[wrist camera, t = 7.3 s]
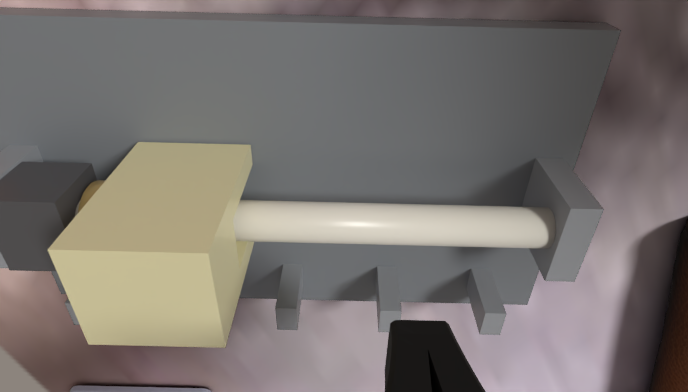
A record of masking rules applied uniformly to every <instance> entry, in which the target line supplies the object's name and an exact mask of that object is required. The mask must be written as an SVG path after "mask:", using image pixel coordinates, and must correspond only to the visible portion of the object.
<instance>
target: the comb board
mask: <svg viewBox="0 0 688 392" xmlns="http://www.w3.org/2000/svg"><path fill="white" fill-rule="evenodd" d="M620 32H621V30H619V29H617V28H615V27H613V26H611V25H609V24H607V23H593V22H554V21H515V20H475V19H436V18H397V17H357V16H318V15H279V14H239V13H200V12H161V11H121V10H82V9H43V8H3V7H0V268H9V270H23V271H51V272H52V274H53V276H54V278H55V281H56V283H57V285H58V287H59V290H60V292H61V294H66V291H65V289H64V287H63V285H62V282H61V280H60V278H59V275H58V273H57V271H56V268H55V266H54V264H53V261H52V259H51V257H50V254H49V252H48V248H49V247H50V246H51V245H52V244H53V242H54V241H55V240H56V239H57V238H58V237H59V235H60V234H61V233H62V232H63V231H64V229H65V228H66V227H67V226H68V225H69V223H70V222H71V221H72V220H73V219H74V217H75V216H76V215H77V214H78V213H79V212H80V210H81V209H82V208H83V207H84V206H85V204H86V203H87V202H88V201H89V200H90V198H91V197H92V196H93V195H94V194H95V193H96V191H97V190H98V189H99V188H100V187H101V185H102V184H103V183H104V182H105V181H106V179H107V178H108V177H109V176H110V175H111V174H112V172H113V171H114V170H115V169H116V168H117V166H118V165H119V164H120V163H121V162H122V160H123V159H124V158H125V157H126V156H127V155H128V153H129V152H130V151H131V150H132V149H133V147H134V146H135V145H136V144H137V143H138V142H161V143H202V144H242V145H251V153H252V163H253V165H252V167H251V170H250V173H249V176H248V179H247V182H246V184H245V187H244V190H243V193H242V196H241V198H240V201H239V204H238V207H237V210H236V213H235V215H234V218H233V224H234V231H235V238H236V241H250V242H254V245H253V249H252V252H251V256H250V260H249V263H248V267H247V271H246V274H245V278H244V282H243V285H242V289H241V293H240V296H239V298H264V299H277V302H276V308H275V309H276V321H277V330H298V322H299V313H300V305H301V299H306V300H348V301H377V316H378V332H389V330H390V323H391V322H393V321H395V320H400V319H401V303H400V302H433V303H471V306H472V310H473V313H474V317H475V320H476V324H477V327H478V330H479V334H488V335H500V333H501V329H502V326H503V323H504V320H505V317H506V311H505V309H504V306H503V304H518V305H527V304H528V301H529V298H530V295H531V292H532V289H533V286H534V283H535V281H536V278H537V275H538V272H539V270H540V272H541V274H542V276H543V278H544V280H545V281H567V282H575V279H576V277H577V274H578V272H579V269H580V267H581V264H582V262H583V259H584V257H585V255H586V252H587V250H588V247H589V245H590V242H591V240H592V237H593V235H594V232H595V230H596V228H597V225H598V223H599V220H600V218H601V215H602V213H603V210H604V209H603V208H602V207H601V205H600V204H599V203H598V202H597V200H596V199H595V198H594V197H593V195H592V194H591V193H590V191H589V190H588V189H587V188H586V186H585V185H584V184H583V183H582V181H581V180H580V179H579V178H578V176H577V175H576V174H575V173H574V171H573V169H574V167H575V164H576V161H577V158H578V155H579V152H580V149H581V146H582V143H583V140H584V137H585V134H586V131H587V129H588V126H589V123H590V120H591V117H592V114H593V111H594V108H595V105H596V102H597V99H598V96H599V93H600V91H601V88H602V85H603V82H604V79H605V76H606V73H607V70H608V67H609V64H610V61H611V58H612V55H613V53H614V50H615V47H616V44H617V41H618V38H619V35H620ZM65 305H66V307H67V309H68V312H69V314H70V316H71V318H72V321H73V323H74V325H80V324H79V322H78V319H77V317H76V315H75V312H74V310H73V308H72V305H71V303H70V301H69V298H68V300H67V301H66V302H65Z"/></svg>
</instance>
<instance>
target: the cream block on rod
mask: <svg viewBox="0 0 688 392" xmlns="http://www.w3.org/2000/svg"><path fill="white" fill-rule="evenodd" d="M252 165H253V163H252V153H251V145H242V144H202V143H161V142H138V143H137V144H136V145H135V146H134V147H133V149H132V150H131V151H130V152H129V153H128V155H127V156H126V157H125V158H124V159H123V160H122V162H121V163H120V164H119V165H118V166H117V168H116V169H115V170H114V171H113V172H112V174H111V175H110V176H109V177H108V178H107V179H106V181H105V182H104V183H103V184H102V185H101V187H100V188H99V189H98V190H97V191H96V193H95V194H94V195H93V196H92V197H91V198H90V200H89V201H88V202H87V203H86V204H85V206H84V207H83V208H82V209H81V210H80V212H79V213H78V214H77V215H76V216H75V217H74V219H73V220H72V221H71V222H70V223H69V225H68V226H67V227H66V228H65V229H64V231H63V232H62V233H61V234H60V235H59V237H58V238H57V239H56V240H55V241H54V242H53V244H52V245H51V246H50V247H49V248H48V252H49V254H50V257H51V259H52V261H53V264H54V266H55V268H56V271H57V273H58V275H59V278H60V280H61V282H62V285H63V287H64V289H65V291H66V294H67V296H68V298H69V301H70V303H71V305H72V308H73V310H74V312H75V315H76V317H77V319H78V322H79V324H80V326H81V329H82V331H83V333H84V335H85V338H86V340H87V342H88V345H130V346H173V347H216V348H226V344H227V340H228V337H229V333H230V329H231V326H232V322H233V318H234V315H235V311H236V307H237V304H238V300H239V296H240V293H241V289H242V285H243V282H244V278H245V274H246V271H247V267H248V263H249V260H250V256H251V252H252V249H253V245H254V242H250V241H236V238H235V231H234V224H233V218H234V215H235V213H236V210H237V207H238V204H239V201H240V198H241V196H242V193H243V190H244V187H245V184H246V182H247V179H248V176H249V173H250V170H251V167H252Z"/></svg>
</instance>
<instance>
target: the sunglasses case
mask: <svg viewBox="0 0 688 392" xmlns="http://www.w3.org/2000/svg"><path fill="white" fill-rule="evenodd" d="M649 392H688V220H687V224H686V226H685V230H684V231H683V232H682V233H681V236H680V240H679V244H678V249H677V256H676V260H675V264H674V270H673V278H672V285H671V290H670V297H669V304H668V309H667V312H666V316H665V322H664V329H663V335H662V342H661V344H660V346H659V351H658V355H657V359H656V362H655V367H654V372H653V376H652V381H651V386H650V390H649Z"/></svg>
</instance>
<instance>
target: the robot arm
mask: <svg viewBox="0 0 688 392" xmlns="http://www.w3.org/2000/svg"><path fill="white" fill-rule="evenodd" d="M70 392H211V391H210V390H208V389H205V388H169V387H126V386H83V385H77V386H73V387H72V388H71V390H70ZM385 392H485V390H484V389H483V387H482V385H481V384H480V382H479V380H478V379H477V377H476V375H475V373H474V372H473V370H472V368H471V366H470V365H469V363H468V361H467V359H466V358H465V356H464V354H463V352H462V350H461V348H460V346H459V344H458V342H457V340H456V338H455V336H454V334H453V332H452V330H451V328H450V326H449V324H448V323H447V322H446V321H419V320H395V321H393V322H391V323H390V330H389V339H388V348H387V357H386V366H385Z"/></svg>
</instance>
